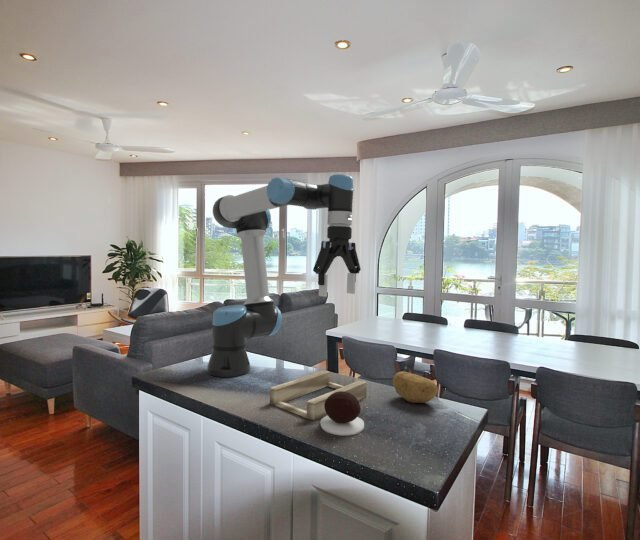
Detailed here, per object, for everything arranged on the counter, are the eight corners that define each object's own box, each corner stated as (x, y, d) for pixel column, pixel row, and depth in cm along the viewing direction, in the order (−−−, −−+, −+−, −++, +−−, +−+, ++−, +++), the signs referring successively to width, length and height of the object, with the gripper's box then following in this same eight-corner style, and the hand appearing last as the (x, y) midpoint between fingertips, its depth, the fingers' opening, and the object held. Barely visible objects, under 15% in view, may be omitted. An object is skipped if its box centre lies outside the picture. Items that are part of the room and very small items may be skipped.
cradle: (269, 403, 112) (270, 387, 112) (324, 383, 130) (324, 370, 130) (313, 420, 101) (314, 403, 100) (366, 396, 119) (366, 382, 119)
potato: (427, 413, 107) (428, 384, 107) (385, 398, 117) (386, 372, 117) (444, 404, 114) (445, 377, 114) (403, 391, 124) (404, 366, 124)
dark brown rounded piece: (326, 413, 103) (327, 385, 103) (361, 417, 102) (362, 388, 101) (320, 426, 95) (321, 396, 95) (358, 431, 94) (359, 399, 93)
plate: (311, 425, 98) (311, 422, 98) (338, 412, 106) (338, 410, 106) (346, 440, 91) (346, 436, 90) (372, 425, 99) (372, 422, 99)
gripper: (321, 222, 108) (319, 298, 109) (372, 228, 127) (370, 293, 128) (302, 223, 113) (300, 296, 114) (354, 228, 132) (352, 291, 133)
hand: (337, 294), depth 121 cm, fingers open, 13 cm apart
